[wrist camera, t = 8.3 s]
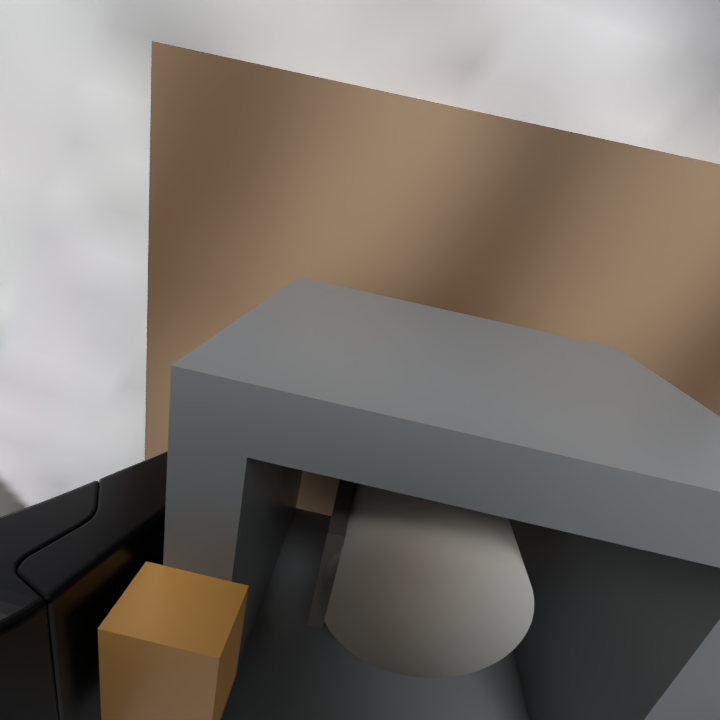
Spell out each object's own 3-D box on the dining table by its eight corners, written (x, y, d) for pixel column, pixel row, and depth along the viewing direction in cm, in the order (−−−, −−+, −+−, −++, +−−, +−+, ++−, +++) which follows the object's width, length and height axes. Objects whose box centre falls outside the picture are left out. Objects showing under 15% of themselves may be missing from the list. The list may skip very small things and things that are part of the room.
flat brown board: (808, 197, 9) (1543, 184, 3) (563, 632, 14) (676, 932, 8) (182, 61, 9) (-191, -185, 3) (163, 537, 14) (0, 765, 8)
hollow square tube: (617, 348, 8) (1016, 615, 3) (509, 583, 11) (618, 968, 5) (289, 274, 8) (87, 398, 3) (254, 522, 11) (106, 839, 5)
